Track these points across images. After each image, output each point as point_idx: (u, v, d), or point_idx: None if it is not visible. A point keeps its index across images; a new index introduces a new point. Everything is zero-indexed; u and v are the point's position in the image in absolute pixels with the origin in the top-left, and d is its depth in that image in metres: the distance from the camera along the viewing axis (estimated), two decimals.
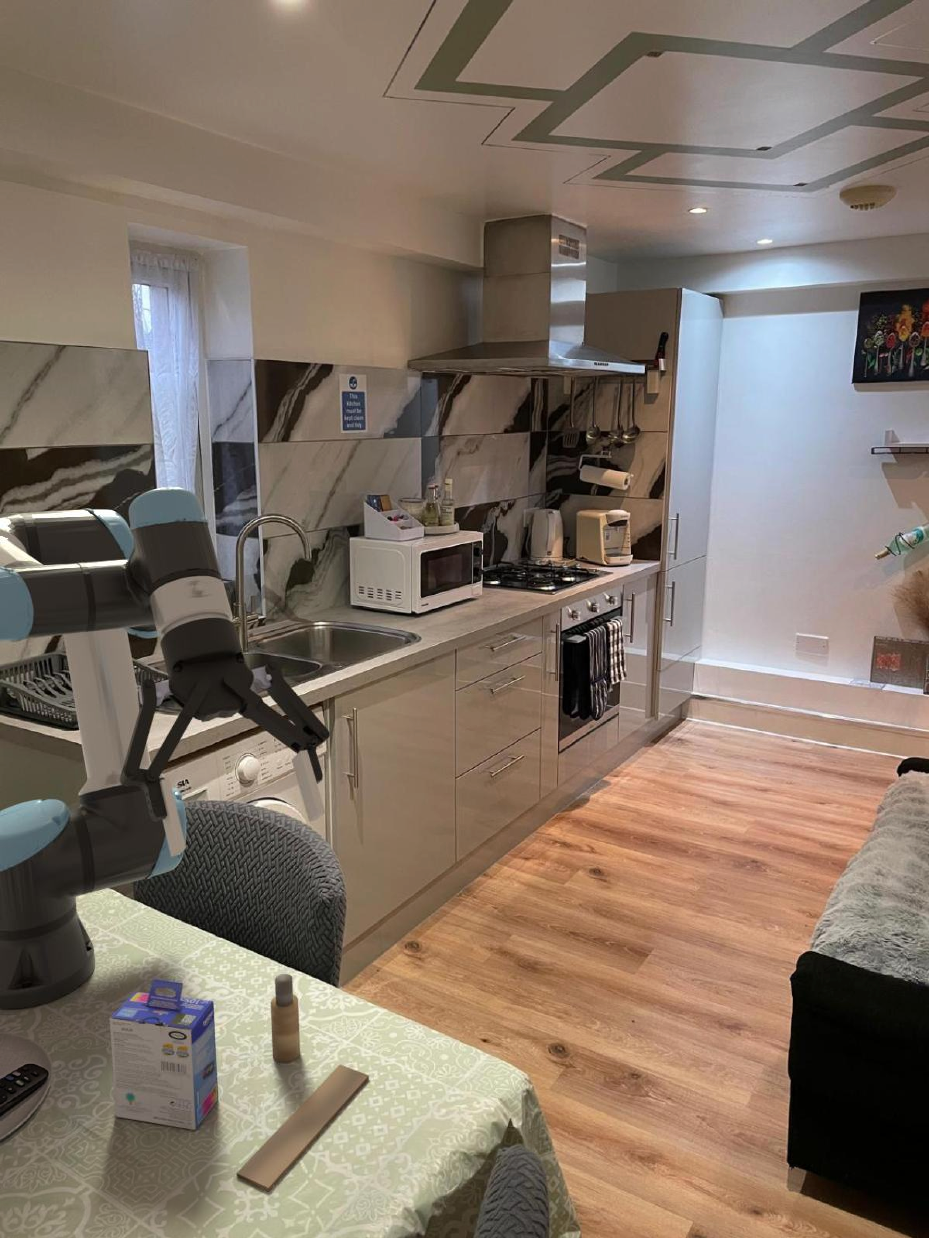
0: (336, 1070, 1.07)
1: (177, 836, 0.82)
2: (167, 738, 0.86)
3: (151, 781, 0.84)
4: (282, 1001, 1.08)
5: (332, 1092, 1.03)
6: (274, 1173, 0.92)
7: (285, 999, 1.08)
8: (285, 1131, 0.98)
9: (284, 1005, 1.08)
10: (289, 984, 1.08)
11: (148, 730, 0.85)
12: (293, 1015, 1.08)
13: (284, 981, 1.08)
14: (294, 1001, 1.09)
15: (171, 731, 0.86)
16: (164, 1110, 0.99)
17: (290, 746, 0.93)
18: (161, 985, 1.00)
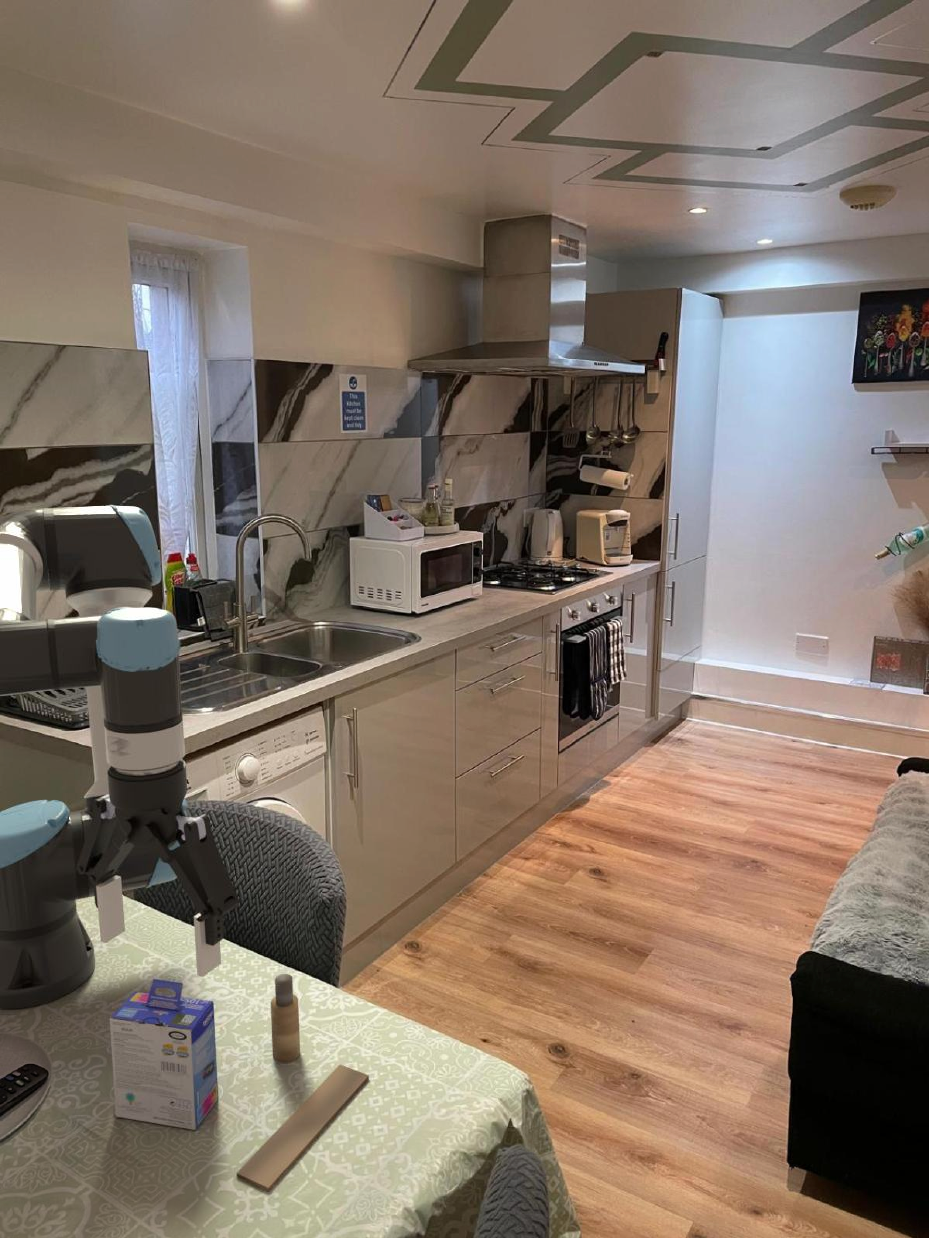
0: (336, 1070, 1.07)
1: (101, 932, 0.99)
2: (104, 855, 0.97)
3: (93, 881, 0.99)
4: (282, 1001, 1.08)
5: (332, 1092, 1.03)
6: (274, 1173, 0.92)
7: (285, 999, 1.08)
8: (285, 1131, 0.98)
9: (284, 1005, 1.08)
10: (289, 984, 1.08)
11: (93, 842, 0.98)
12: (293, 1015, 1.08)
13: (284, 981, 1.08)
14: (294, 1001, 1.09)
15: (107, 851, 0.97)
16: (164, 1110, 0.99)
17: None
18: (161, 985, 1.00)
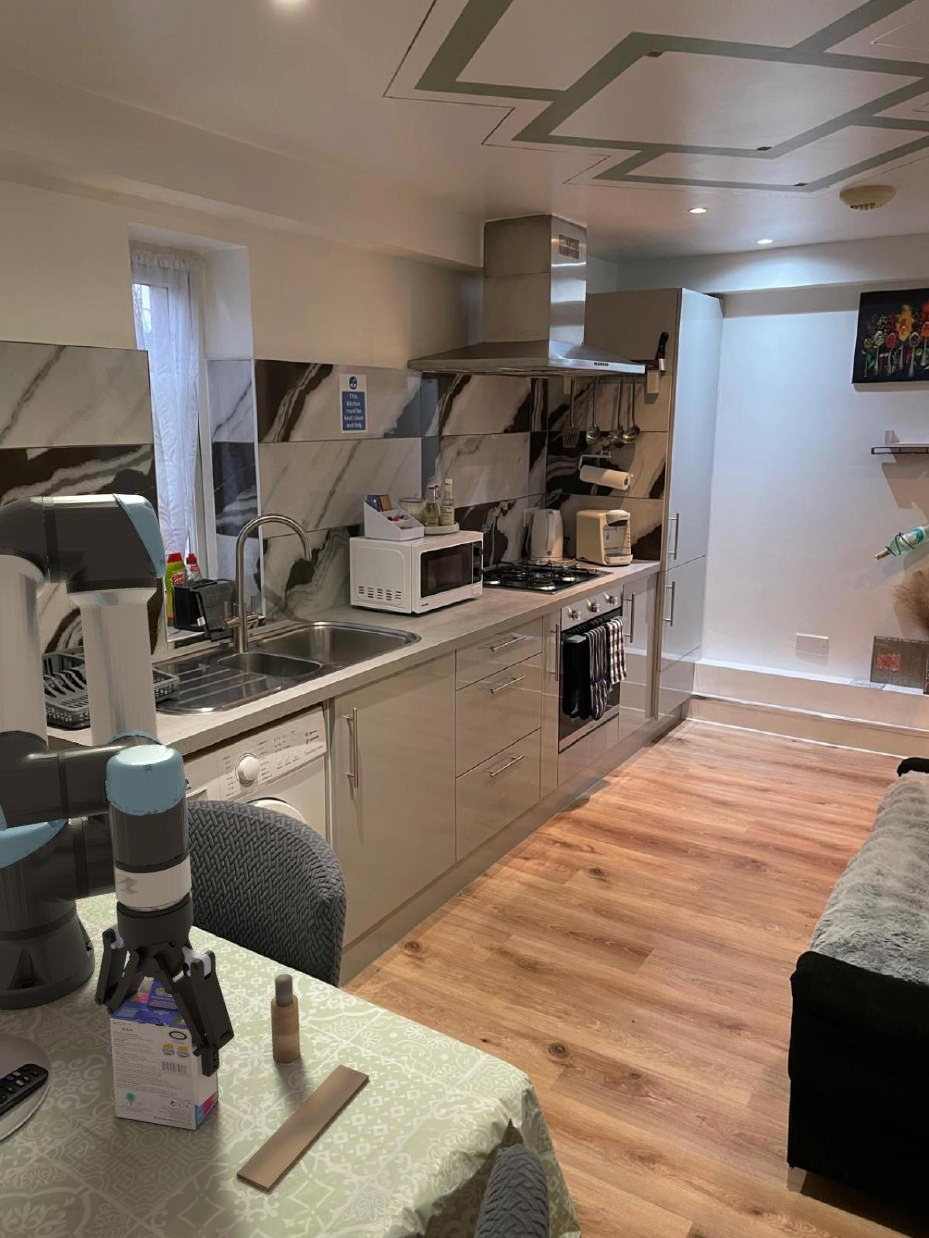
0: (336, 1070, 1.07)
1: None
2: (118, 986, 1.00)
3: None
4: (282, 1001, 1.08)
5: (332, 1092, 1.03)
6: (274, 1173, 0.92)
7: (285, 999, 1.08)
8: (285, 1131, 0.98)
9: (284, 1005, 1.08)
10: (289, 984, 1.08)
11: (107, 973, 1.00)
12: (293, 1015, 1.08)
13: (284, 981, 1.08)
14: (294, 1001, 1.09)
15: (120, 982, 1.00)
16: (165, 1110, 0.99)
17: None
18: (161, 985, 1.00)
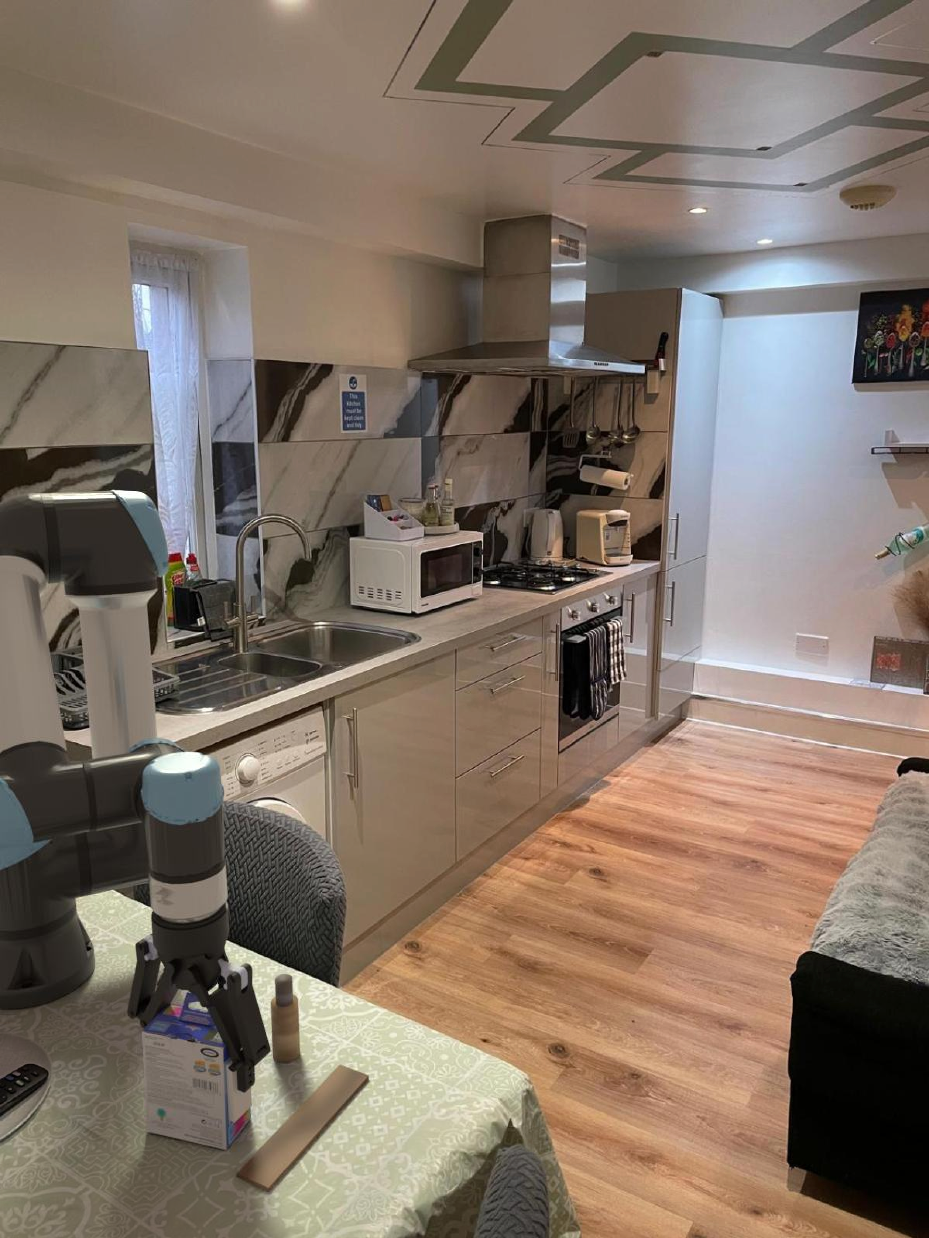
0: (336, 1070, 1.07)
1: None
2: (152, 999, 0.98)
3: (145, 1026, 0.99)
4: (282, 1001, 1.08)
5: (332, 1092, 1.03)
6: (274, 1173, 0.92)
7: (285, 999, 1.08)
8: (285, 1131, 0.98)
9: (284, 1005, 1.08)
10: (289, 984, 1.08)
11: (140, 985, 0.98)
12: (293, 1015, 1.08)
13: (284, 981, 1.08)
14: (294, 1001, 1.09)
15: (154, 994, 0.97)
16: (195, 1128, 0.96)
17: None
18: (194, 999, 0.98)
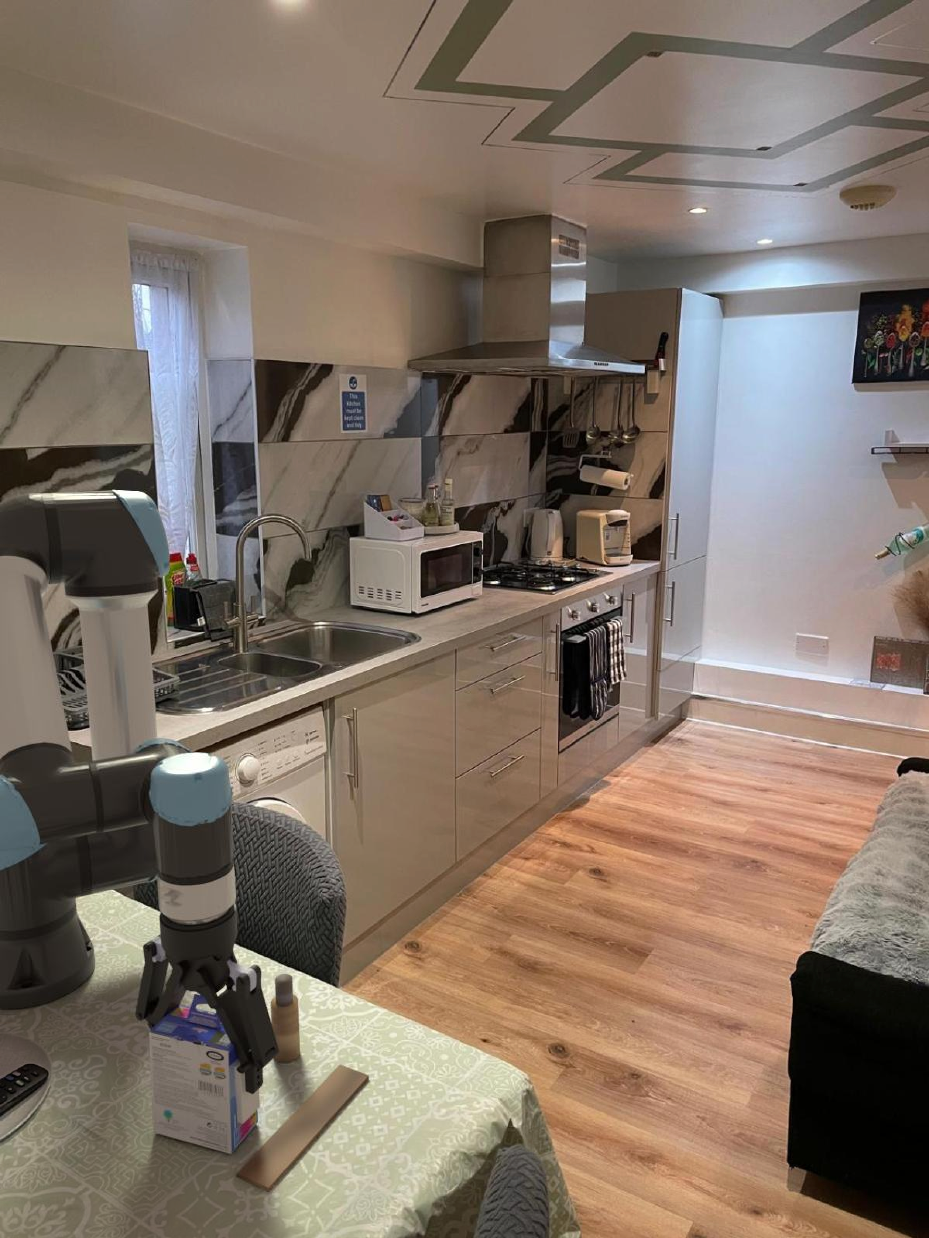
0: (336, 1070, 1.07)
1: None
2: (160, 1001, 0.97)
3: None
4: (282, 1001, 1.08)
5: (332, 1092, 1.03)
6: (274, 1173, 0.92)
7: (285, 999, 1.08)
8: (285, 1131, 0.98)
9: (284, 1005, 1.08)
10: (289, 984, 1.08)
11: (148, 987, 0.98)
12: (293, 1015, 1.08)
13: (284, 981, 1.08)
14: (294, 1001, 1.09)
15: (162, 996, 0.97)
16: (201, 1131, 0.95)
17: None
18: (202, 1001, 0.97)
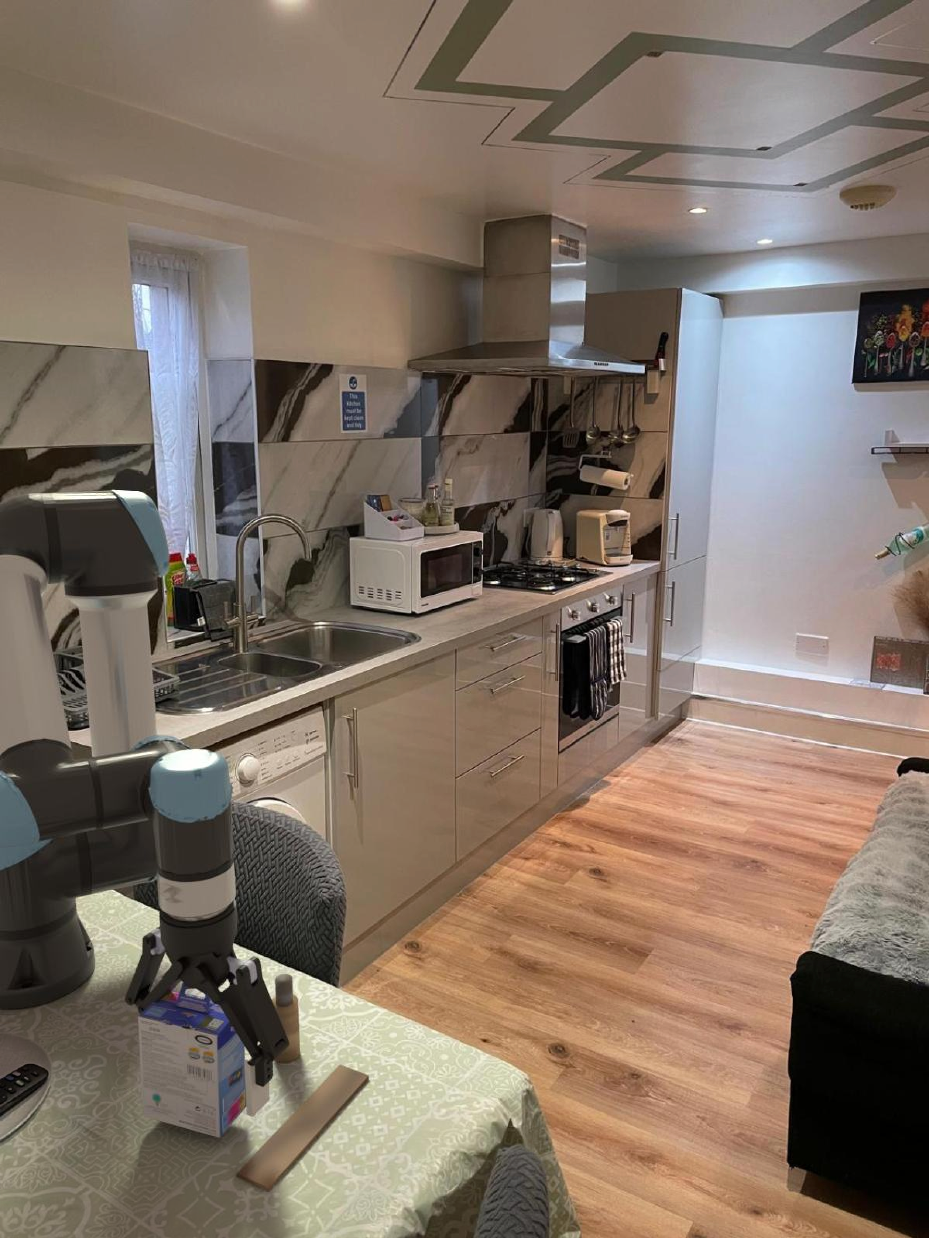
0: (336, 1070, 1.07)
1: None
2: (153, 989, 0.97)
3: None
4: (282, 1001, 1.08)
5: (332, 1092, 1.03)
6: (274, 1173, 0.92)
7: (285, 999, 1.08)
8: (285, 1131, 0.98)
9: (284, 1005, 1.08)
10: (289, 984, 1.08)
11: (142, 976, 0.98)
12: (293, 1015, 1.08)
13: (284, 981, 1.08)
14: (294, 1001, 1.09)
15: (157, 986, 0.97)
16: (190, 1115, 0.96)
17: None
18: None
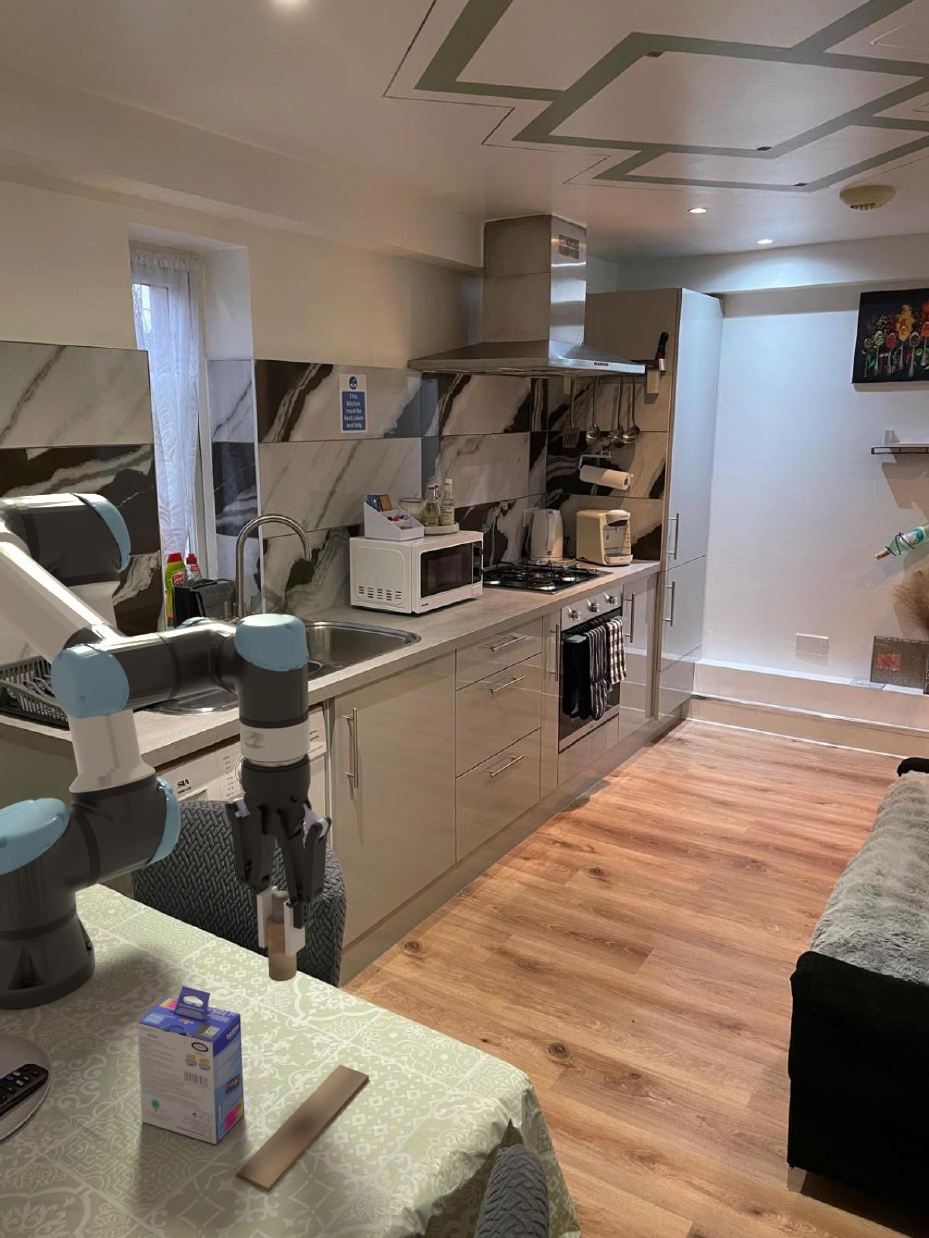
0: (336, 1070, 1.07)
1: (260, 937, 1.07)
2: (253, 858, 1.05)
3: (255, 891, 1.06)
4: (279, 917, 1.06)
5: (332, 1092, 1.03)
6: (274, 1173, 0.92)
7: (282, 915, 1.06)
8: (285, 1131, 0.98)
9: (281, 922, 1.06)
10: (286, 900, 1.06)
11: (240, 845, 1.06)
12: None
13: (280, 897, 1.06)
14: None
15: (253, 852, 1.05)
16: (187, 1121, 0.97)
17: None
18: (189, 993, 0.99)
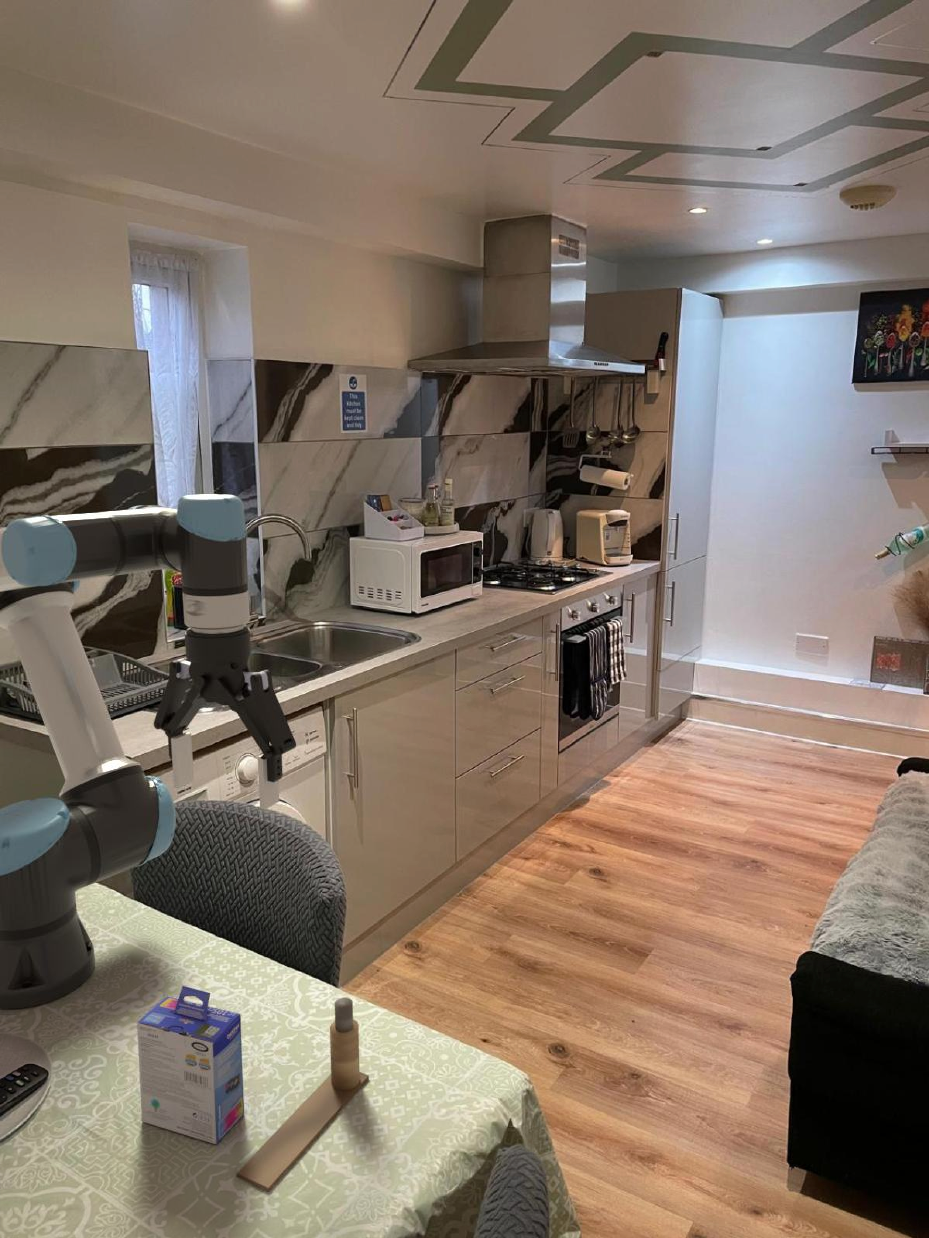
0: None
1: (175, 779, 1.16)
2: (179, 710, 1.13)
3: (168, 735, 1.15)
4: (342, 1026, 1.03)
5: (332, 1092, 1.03)
6: (274, 1173, 0.92)
7: (345, 1024, 1.03)
8: (285, 1131, 0.98)
9: (344, 1031, 1.03)
10: (350, 1009, 1.03)
11: (169, 700, 1.14)
12: (354, 1041, 1.03)
13: (344, 1005, 1.03)
14: (354, 1026, 1.04)
15: (181, 706, 1.13)
16: (187, 1121, 0.97)
17: None
18: (189, 993, 0.99)
